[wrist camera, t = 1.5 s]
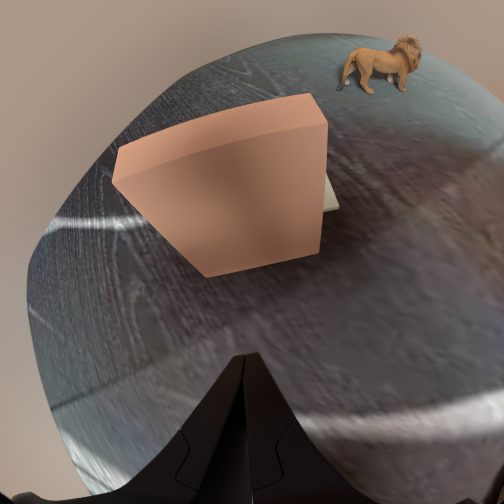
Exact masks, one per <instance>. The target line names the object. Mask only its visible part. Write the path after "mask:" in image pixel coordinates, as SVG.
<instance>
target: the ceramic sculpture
mask: <svg viewBox="0 0 504 504" xmlns="http://www.w3.org/2000/svg"><path fill="white" fill-rule="evenodd" d="M503 499H504V486H503V488H502V490H501V493H500V496H499V498H498V501H497V504H498V503H499V502H501V501H502V500H503Z"/></svg>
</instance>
